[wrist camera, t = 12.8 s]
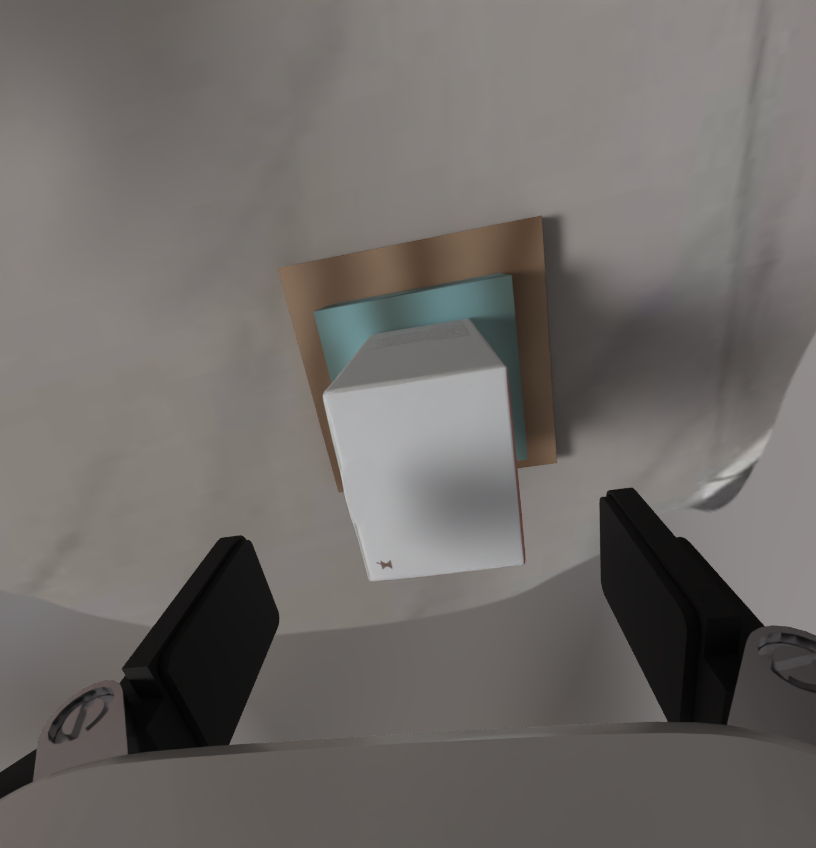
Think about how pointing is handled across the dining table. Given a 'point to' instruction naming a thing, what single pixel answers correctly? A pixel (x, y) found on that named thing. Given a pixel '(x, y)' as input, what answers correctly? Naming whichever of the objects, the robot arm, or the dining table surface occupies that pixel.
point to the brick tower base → (426, 270)
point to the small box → (428, 452)
